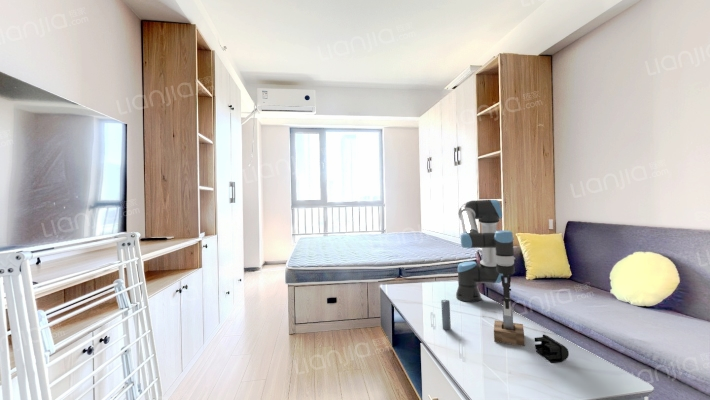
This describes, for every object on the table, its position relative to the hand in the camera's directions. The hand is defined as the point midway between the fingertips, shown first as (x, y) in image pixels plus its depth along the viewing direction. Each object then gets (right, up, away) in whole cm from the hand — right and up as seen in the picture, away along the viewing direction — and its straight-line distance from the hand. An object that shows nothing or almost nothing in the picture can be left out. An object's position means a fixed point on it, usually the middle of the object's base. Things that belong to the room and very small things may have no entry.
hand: (507, 309), depth 134 cm
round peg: (-24, -14, +12) cm, 31 cm away
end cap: (+9, -13, -17) cm, 23 cm away
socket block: (+1, -13, 0) cm, 13 cm away
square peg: (+1, -13, 0) cm, 13 cm away
